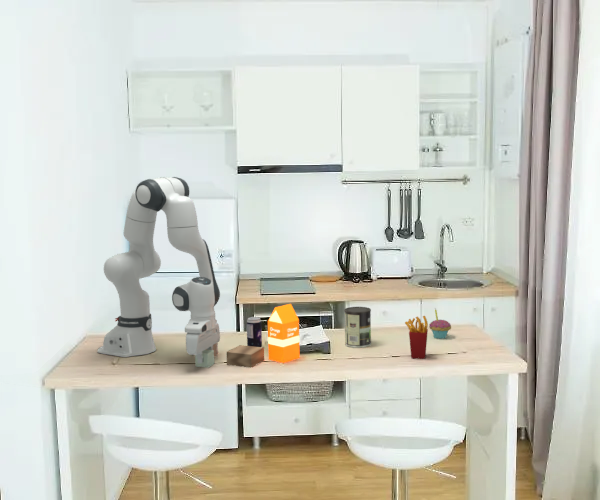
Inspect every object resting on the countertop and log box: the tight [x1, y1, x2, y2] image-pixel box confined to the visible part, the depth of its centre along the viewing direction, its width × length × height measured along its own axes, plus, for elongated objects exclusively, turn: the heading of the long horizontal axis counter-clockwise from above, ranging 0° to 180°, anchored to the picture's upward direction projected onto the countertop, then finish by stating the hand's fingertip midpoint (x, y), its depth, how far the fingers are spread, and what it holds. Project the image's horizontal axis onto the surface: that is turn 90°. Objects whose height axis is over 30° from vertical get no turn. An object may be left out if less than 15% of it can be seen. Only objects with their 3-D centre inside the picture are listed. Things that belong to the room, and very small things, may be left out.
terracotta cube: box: [205, 342, 219, 357], centre depth 289 cm, size 5×5×5 cm
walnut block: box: [226, 344, 265, 368], centre depth 278 cm, size 10×10×5 cm
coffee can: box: [344, 306, 372, 349], centre depth 298 cm, size 10×10×14 cm
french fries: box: [404, 315, 429, 360], centre depth 280 cm, size 9×8×15 cm
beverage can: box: [246, 316, 263, 347], centre depth 295 cm, size 6×6×12 cm
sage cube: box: [194, 350, 215, 368], centre depth 275 cm, size 5×5×5 cm
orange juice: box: [267, 303, 301, 364], centre depth 280 cm, size 8×9×20 cm
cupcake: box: [428, 308, 452, 340], centre depth 306 cm, size 9×8×12 cm
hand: (204, 360), depth 275 cm, fingers closed on sage cube, 5 cm apart
